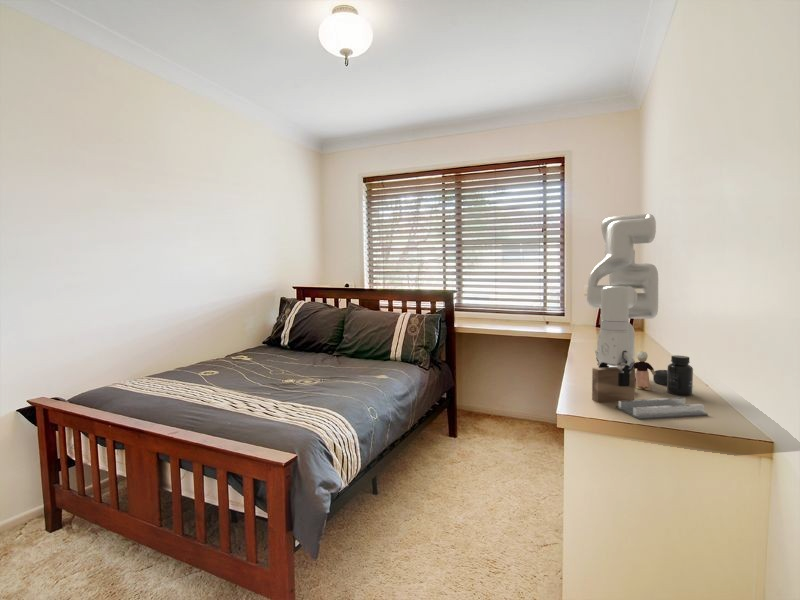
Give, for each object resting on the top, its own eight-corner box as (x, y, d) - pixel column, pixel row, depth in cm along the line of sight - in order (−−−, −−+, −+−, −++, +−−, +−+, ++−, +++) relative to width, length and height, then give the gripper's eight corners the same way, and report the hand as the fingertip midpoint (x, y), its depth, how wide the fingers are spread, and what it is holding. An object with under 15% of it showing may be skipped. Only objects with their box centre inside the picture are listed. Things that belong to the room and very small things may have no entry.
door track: (615, 407, 119) (615, 399, 119) (678, 404, 121) (678, 395, 121) (639, 419, 109) (639, 410, 109) (707, 415, 111) (707, 406, 111)
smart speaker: (682, 388, 138) (683, 376, 138) (652, 384, 144) (652, 373, 143) (683, 382, 146) (684, 371, 145) (654, 379, 151) (654, 368, 151)
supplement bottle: (696, 396, 128) (697, 358, 127) (672, 395, 129) (673, 358, 129) (686, 390, 135) (687, 354, 134) (663, 390, 136) (663, 354, 135)
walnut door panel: (592, 399, 127) (592, 367, 126) (627, 397, 128) (628, 366, 128) (597, 402, 124) (598, 370, 123) (634, 400, 125) (635, 368, 125)
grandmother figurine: (652, 387, 139) (653, 350, 138) (656, 390, 135) (656, 352, 134) (627, 386, 141) (627, 349, 140) (629, 389, 137) (630, 351, 137)
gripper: (586, 324, 133) (585, 376, 133) (621, 329, 116) (620, 389, 116) (608, 323, 134) (607, 375, 134) (645, 329, 117) (644, 389, 117)
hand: (613, 382), depth 125 cm, fingers open, 9 cm apart
